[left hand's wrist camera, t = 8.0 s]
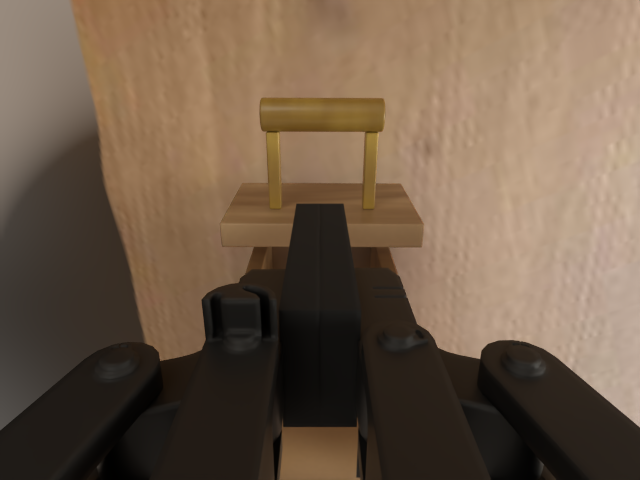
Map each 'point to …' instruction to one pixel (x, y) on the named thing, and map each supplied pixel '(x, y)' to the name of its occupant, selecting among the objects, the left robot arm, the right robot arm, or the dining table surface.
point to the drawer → (322, 189)
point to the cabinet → (319, 453)
